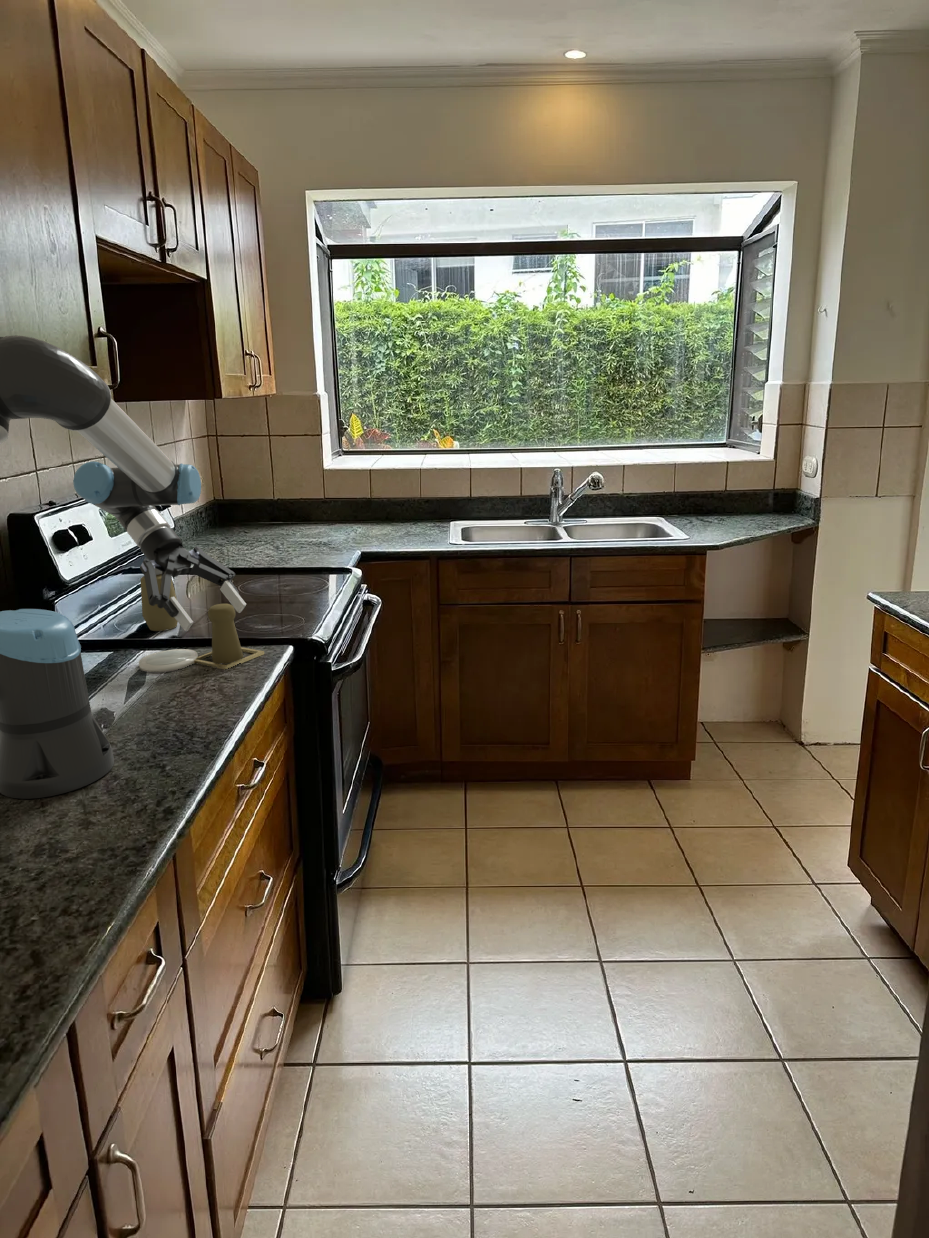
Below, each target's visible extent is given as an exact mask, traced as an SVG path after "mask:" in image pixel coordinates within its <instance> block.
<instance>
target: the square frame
mask: <svg viewBox="0 0 929 1238" xmlns="http://www.w3.org/2000/svg"><path fill="white" fill-rule="evenodd" d="M241 649H242V653H249V654H250V655H247V656H246V657H245V656H244V657H243V658H242V659H240V660H237V661H235V662H231V663H226V664H224V663H223V664H221V663H214V662H213V661H208V660H205V659H207V658H206V657H208V658H210V657H212V656H211V655H212V651H210V652H207V653H205V654H202V655H198V657H197V659H195V660H194V662H195V663H198V664H197V665H200V664H202V665H201V666H205V665H207V666H206V667H210V666H212V667H211V668H215V667H217V668H216V669H222V670H225V669H227V670H229V669H231V667H232V668H234V667H236V666H238V665H237V664H239V663H241V664H244V663H246V662H248V661H251V660H253V659H256V658H259V657H260V656H263V655H265V650H258V649H253V648H248V647H242V646H241ZM209 656H210V657H209ZM195 663H194V664H195ZM235 665H236V666H235ZM239 665H240V664H239ZM233 666H234V667H233ZM228 668H229V669H228Z"/></svg>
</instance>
